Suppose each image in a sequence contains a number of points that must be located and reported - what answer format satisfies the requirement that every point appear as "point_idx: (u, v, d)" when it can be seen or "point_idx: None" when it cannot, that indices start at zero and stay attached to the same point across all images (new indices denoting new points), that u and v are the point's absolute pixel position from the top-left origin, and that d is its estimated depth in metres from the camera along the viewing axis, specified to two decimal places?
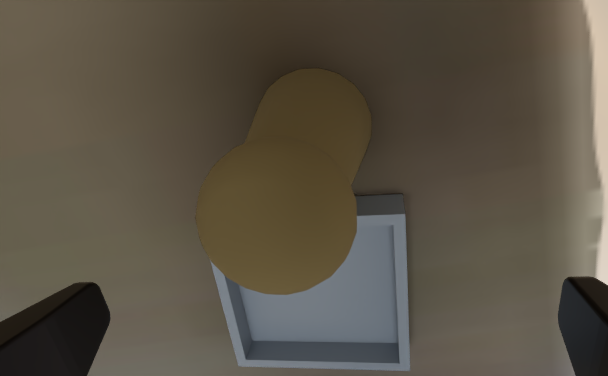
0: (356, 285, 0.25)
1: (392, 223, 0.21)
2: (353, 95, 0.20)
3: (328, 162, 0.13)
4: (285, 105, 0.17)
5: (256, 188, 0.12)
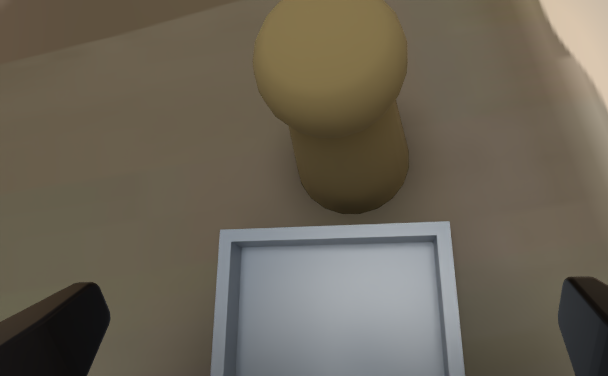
0: (391, 353, 0.19)
1: (435, 233, 0.19)
2: None
3: None
4: None
5: None
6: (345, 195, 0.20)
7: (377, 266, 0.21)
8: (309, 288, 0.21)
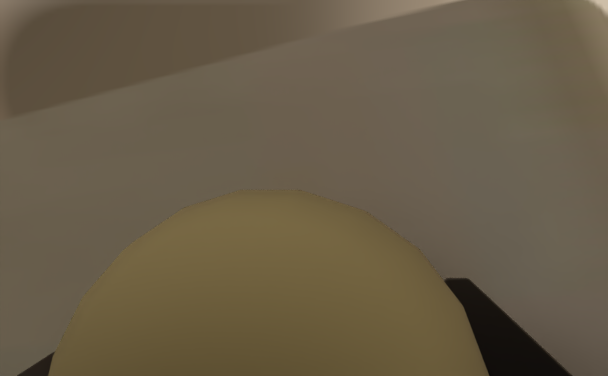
0: None
1: None
2: None
3: None
4: None
5: (234, 229, 0.05)
6: None
7: None
8: None
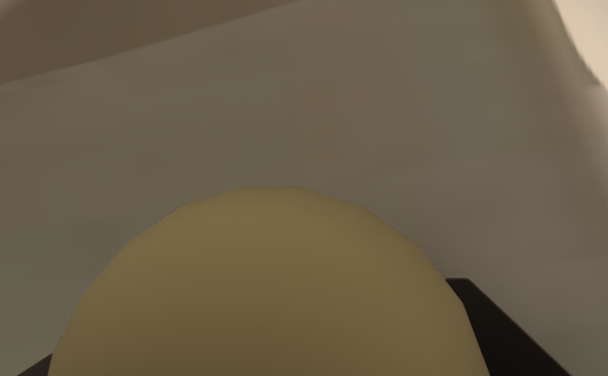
0: None
1: None
2: None
3: None
4: None
5: (234, 226, 0.05)
6: None
7: None
8: None
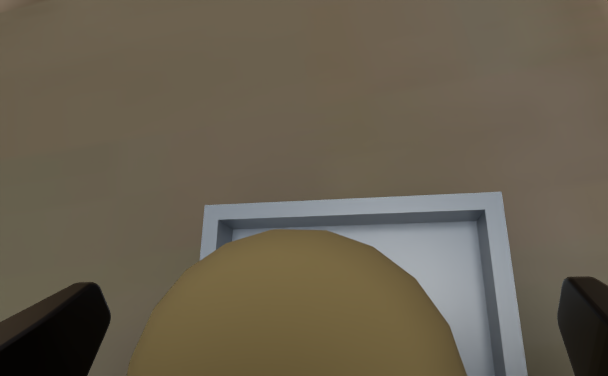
0: None
1: (483, 206, 0.15)
2: None
3: None
4: None
5: (271, 267, 0.06)
6: None
7: (404, 252, 0.16)
8: None
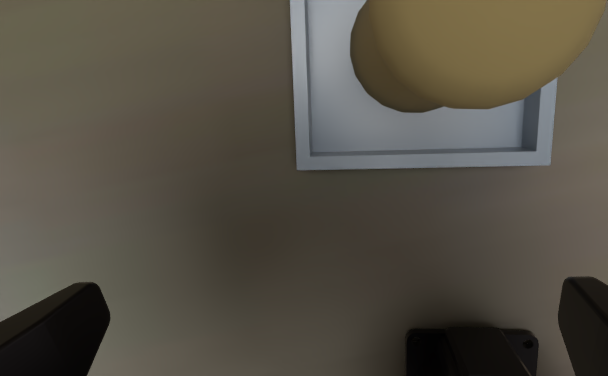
0: None
1: None
2: None
3: None
4: None
5: None
6: (419, 107, 0.17)
7: None
8: None
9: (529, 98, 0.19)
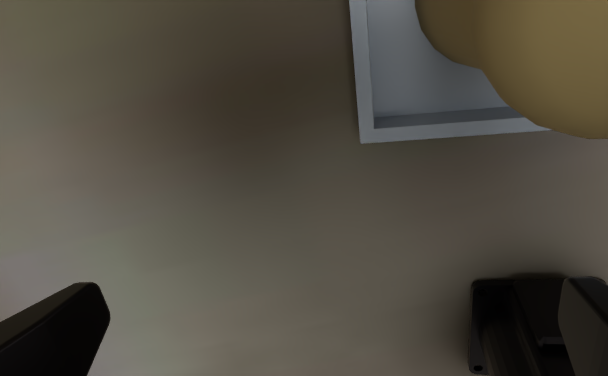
0: None
1: None
2: None
3: None
4: None
5: None
6: None
7: None
8: None
9: None
